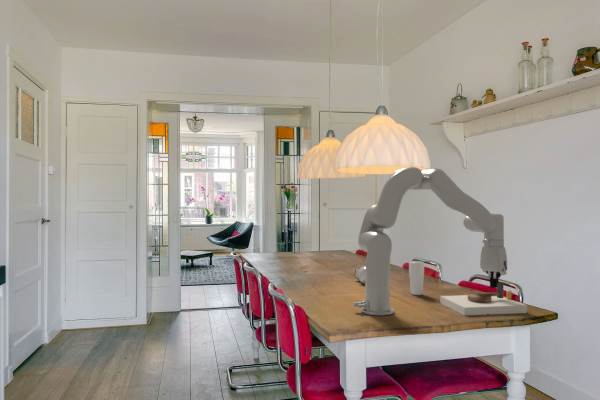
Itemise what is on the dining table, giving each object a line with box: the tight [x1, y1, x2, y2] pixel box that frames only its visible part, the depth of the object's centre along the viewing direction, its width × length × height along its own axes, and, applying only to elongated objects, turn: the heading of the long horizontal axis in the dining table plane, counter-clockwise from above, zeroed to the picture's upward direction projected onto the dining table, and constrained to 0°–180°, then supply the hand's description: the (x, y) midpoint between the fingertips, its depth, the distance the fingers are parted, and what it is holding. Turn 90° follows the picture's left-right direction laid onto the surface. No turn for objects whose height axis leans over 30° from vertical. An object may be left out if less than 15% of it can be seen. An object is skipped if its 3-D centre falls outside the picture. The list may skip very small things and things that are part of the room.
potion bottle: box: [353, 265, 365, 285], centre depth 234 cm, size 9×10×15 cm
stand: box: [439, 290, 528, 316], centre depth 182 cm, size 26×20×6 cm
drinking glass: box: [408, 260, 425, 296], centre depth 207 cm, size 7×7×15 cm
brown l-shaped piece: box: [467, 281, 504, 302], centre depth 182 cm, size 15×9×7 cm, turn 97°
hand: (494, 287), depth 186 cm, fingers closed
